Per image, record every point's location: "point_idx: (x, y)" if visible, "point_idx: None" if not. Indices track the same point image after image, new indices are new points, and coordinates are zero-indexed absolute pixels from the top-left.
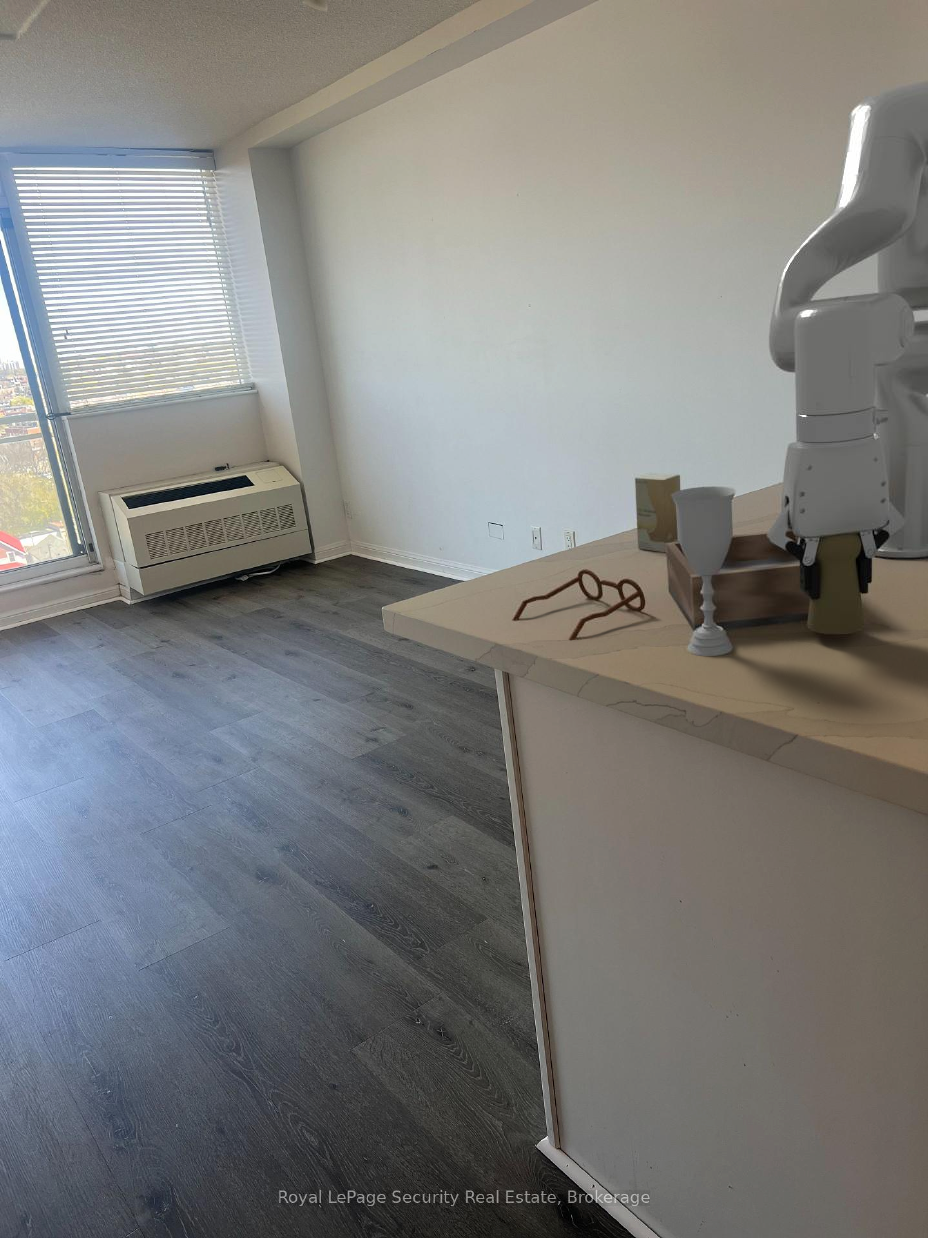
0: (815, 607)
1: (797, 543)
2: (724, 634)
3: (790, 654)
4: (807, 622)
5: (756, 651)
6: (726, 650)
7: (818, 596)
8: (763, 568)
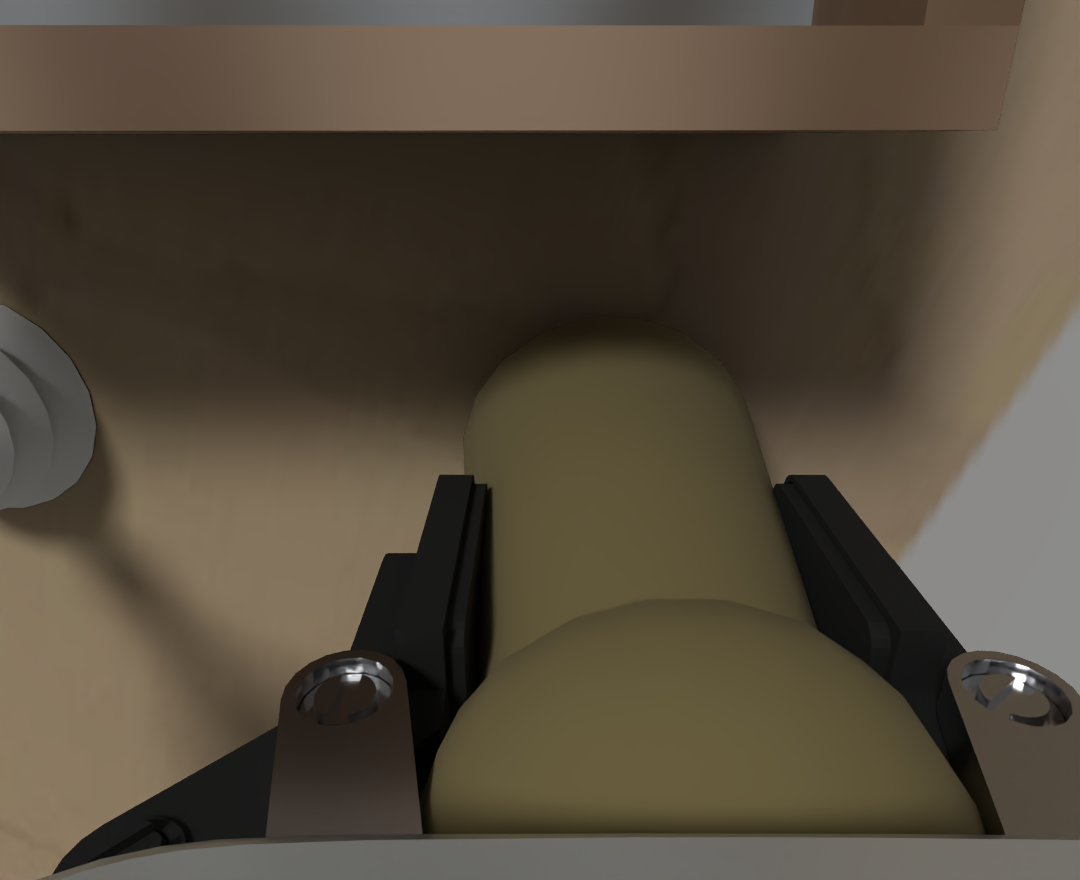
0: None
1: (271, 792)
2: (4, 480)
3: (348, 570)
4: (472, 410)
5: (206, 502)
6: (58, 487)
7: None
8: (107, 84)
